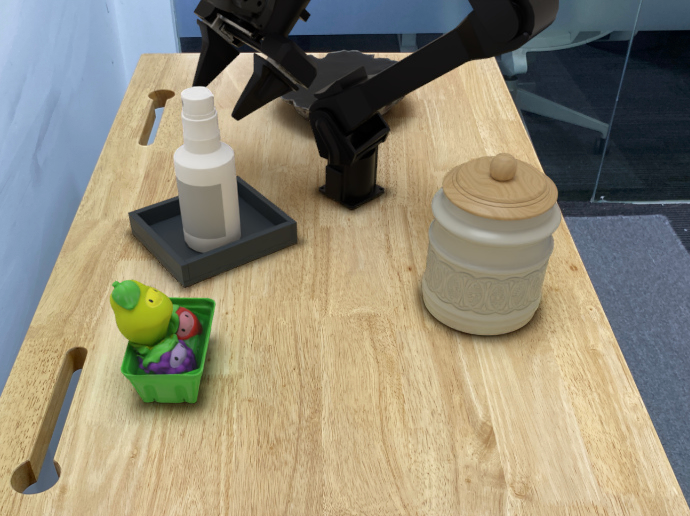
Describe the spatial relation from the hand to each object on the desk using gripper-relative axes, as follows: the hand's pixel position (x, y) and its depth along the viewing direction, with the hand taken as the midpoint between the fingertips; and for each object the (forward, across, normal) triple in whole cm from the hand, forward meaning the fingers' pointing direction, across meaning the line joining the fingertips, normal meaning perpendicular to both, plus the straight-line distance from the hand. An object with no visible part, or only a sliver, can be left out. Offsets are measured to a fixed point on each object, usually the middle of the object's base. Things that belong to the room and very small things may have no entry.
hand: (214, 104), depth 91 cm
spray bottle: (+13, +7, +5) cm, 16 cm away
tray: (+13, +6, +6) cm, 16 cm away
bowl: (-12, -14, +29) cm, 34 cm away
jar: (+1, +34, +19) cm, 39 cm away
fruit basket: (+24, +24, -5) cm, 35 cm away
